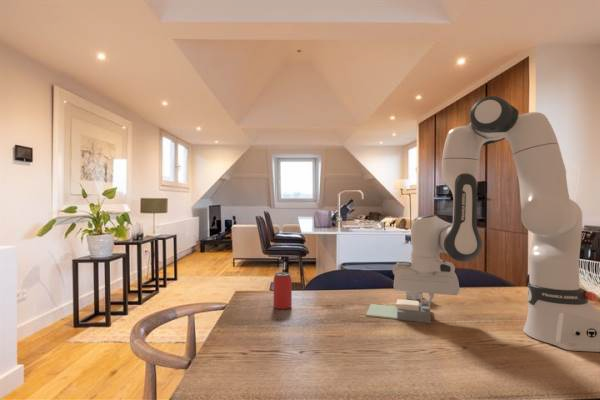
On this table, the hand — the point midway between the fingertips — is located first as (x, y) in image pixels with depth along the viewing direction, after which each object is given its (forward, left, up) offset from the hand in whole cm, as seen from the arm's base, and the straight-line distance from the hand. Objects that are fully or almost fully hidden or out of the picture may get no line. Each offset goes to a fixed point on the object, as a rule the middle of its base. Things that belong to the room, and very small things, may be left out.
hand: (425, 305), depth 108 cm
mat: (+14, 0, -3) cm, 14 cm away
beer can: (+49, +6, -4) cm, 49 cm away
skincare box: (+4, -21, -4) cm, 22 cm away
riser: (+4, 0, -3) cm, 5 cm away
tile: (+6, 0, -1) cm, 6 cm away
